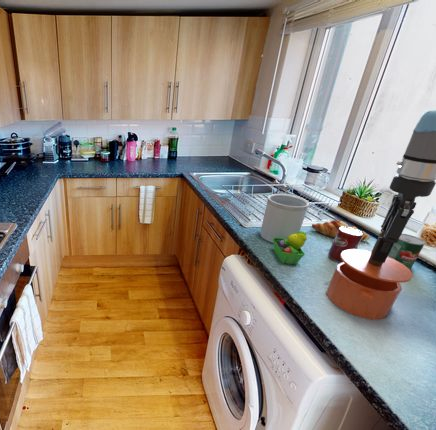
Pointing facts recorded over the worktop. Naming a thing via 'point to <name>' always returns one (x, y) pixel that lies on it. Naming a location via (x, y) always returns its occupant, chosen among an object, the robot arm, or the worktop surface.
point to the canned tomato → (406, 250)
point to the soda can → (344, 242)
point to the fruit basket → (290, 247)
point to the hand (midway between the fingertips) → (377, 257)
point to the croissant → (335, 228)
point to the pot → (362, 293)
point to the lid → (376, 265)
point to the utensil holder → (283, 216)
